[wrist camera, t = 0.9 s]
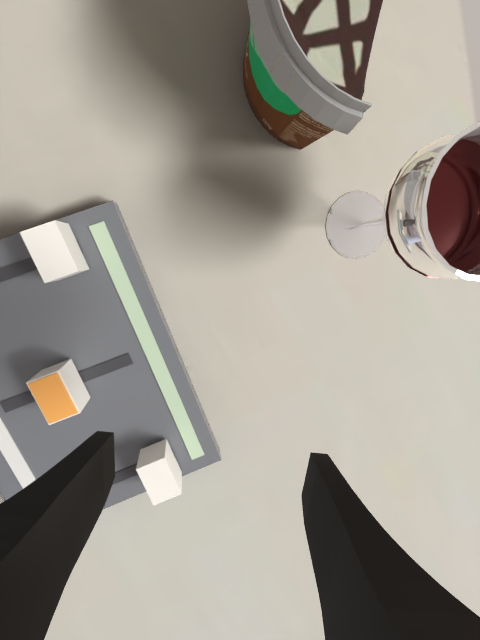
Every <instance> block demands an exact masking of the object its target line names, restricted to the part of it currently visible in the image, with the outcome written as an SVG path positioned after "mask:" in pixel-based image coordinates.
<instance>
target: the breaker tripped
mask: <svg viewBox="0 0 480 640" xmlns="http://www.w3.org/2000/svg"><path fill="white" fill-rule="evenodd" d="M26 384H27V386H28V388H29V389H30V391H31V393H32V395H33V397H34V399H35V401H36V402H37V404H38V406H39V408H40V410H41V412H42V413H43V415H44V417H45V419H46V421H47V423H48V425H51V424H54V423H56V422H59V421H61V420H64V419H67V418H69V417H72V416H74V415H77V414H79V413H81V411H82V410H83V408H84V407H85V405H86V404H87V402H88V401H89V399H90V398H91V397H90V395H89V393H88V391H87V389H86V387H85V385H84V383H83V381H82V379H81V377H80V375H79V373H78V371H77V369H76V367H75V365H74V363H73V361H72V359H69V360H66V361H64V362H61V363H58V364H56V365H53V366H50V367H48V368H45V369H42V370H41V371H40V372H38V373H37V374H36V375H35V376H34V377H32V378H31V379H30V380H29V381H27V382H26Z"/></svg>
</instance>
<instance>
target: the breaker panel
mask: <svg viewBox="0 0 480 640" xmlns="http://www.w3.org/2000/svg"><path fill="white" fill-rule="evenodd" d="M56 221H60V222H64V223H68V224H69V225H70V228H71V230H72V232H73V234H74V236H75V239H76V241H77V243H78V245H79V247H80V250H81V252H82V254H83V256H84V258H85V261H86V263H87V265H88V267H89V270H86V271H84V272H81V273H78V274H75V275H72V276H70V277H67V278H64V279H61V280H58V281H53V282H49V283H44V281H43V279H42V277H41V275H40V273H39V271H38V269H37V267H36V265H35V263H34V261H33V259H32V257H31V255H30V253H29V251H28V249H27V247H26V245H25V243H24V241H23V239H22V236H21V234H20V233H17V234H14V235H11V236H8V237H5V238H2V239H0V492H1V494H2V496H3V497H4V499H5V501H6V500H7V499H9V498H10V497H12V496H13V495H15V494H16V493H18V492H19V491H21V490H22V489H24V488H25V487H26V486H28V485H29V484H30V483H32V482H33V481H35V480H36V479H37V478H39V477H40V476H41V475H43V474H44V473H46V472H47V471H48V470H49V469H51V468H52V467H53V466H54V465H56V464H57V463H58V462H60V461H61V460H62V459H63V458H65V457H66V456H67V455H68V454H70V453H71V452H72V451H73V450H74V449H76V448H77V447H78V446H79V445H80V444H82V443H83V442H84V441H85V440H86V439H88V438H89V437H90V436H91V435H93V434H94V433H95V432H96V431H104V432H114V451H115V478H114V481H113V484H112V487H111V490H110V493H109V495H108V498H107V501H106V503H105V506H104V508H103V509H105V508H107V507H110V506H112V505H114V504H117V503H119V502H122V501H124V500H126V499H129V498H131V497H134V496H136V495H138V494H141V493H143V492H146V489H145V487H144V485H143V483H142V481H141V479H140V477H139V475H138V473H137V471H136V467H137V462H138V458H139V453H140V449H143V448H145V447H148V446H150V445H152V444H155V443H157V442H160V441H162V440H165V439H167V441H168V443H169V445H170V447H171V450H172V452H173V454H174V456H175V458H176V461H177V463H178V465H179V467H180V469H181V472H182V476H184V475H186V474H189V473H191V472H193V471H196V470H198V469H201V468H203V467H205V466H208V465H210V464H213V463H215V462H217V461H220V460H221V456H220V450H219V447H218V445H217V442H216V440H215V438H214V435H213V433H212V430H211V428H210V426H209V423H208V421H207V418H206V416H205V414H204V411H203V409H202V406H201V404H200V402H199V399H198V397H197V394H196V392H195V390H194V387H193V385H192V382H191V380H190V378H189V375H188V373H187V370H186V368H185V366H184V363H183V361H182V358H181V356H180V354H179V351H178V349H177V346H176V344H175V342H174V339H173V337H172V334H171V332H170V330H169V327H168V325H167V322H166V320H165V318H164V315H163V313H162V310H161V308H160V306H159V303H158V301H157V299H156V296H155V294H154V291H153V289H152V287H151V284H150V282H149V279H148V277H147V275H146V272H145V270H144V267H143V265H142V263H141V260H140V258H139V255H138V253H137V251H136V248H135V246H134V243H133V241H132V239H131V236H130V234H129V231H128V229H127V227H126V224H125V222H124V219H123V217H122V215H121V212H120V210H119V207H118V205H117V203H115V202H114V201H110V202H107V203H104V204H101V205H98V206H95V207H92V208H89V209H86V210H83V211H81V212H78V213H75V214H72V215H69V216H66V217H63V218H60V219H57V220H56ZM69 359H72V361H73V363H74V365H75V367H76V369H77V371H78V373H79V375H80V377H81V379H82V381H83V383H84V385H85V387H86V389H87V391H88V393H89V395H90V397H91V398H90V399H89V401H88V402H87V404H86V405H85V407H84V408H83V410H82V411H81V413H79V414H77V415H74V416H72V417H69V418H67V419H64V420H61V421H59V422H56V423H54V424H51V425H48V423H47V421H46V419H45V417H44V415H43V413H42V412H41V410H40V408H39V406H38V404H37V402H36V401H35V399H34V397H33V395H32V393H31V391H30V389H29V388H28V386H27V384H26V382H27V381H29V380H30V379H31V378H32V377H34V376H35V375H36V374H37V373H38V372H40V371H41V370H42V369H45V368H48V367H50V366H53V365H56V364H58V363H61V362H64V361H66V360H69Z"/></svg>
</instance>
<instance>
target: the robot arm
mask: <svg viewBox="0 0 480 640" xmlns="http://www.w3.org/2000/svg"><path fill="white" fill-rule="evenodd" d="M114 478H115V451H114V432H104V431H96V432H95V433H94V434H93V435H91V436H90V437H89V438H88V439H86V440H85V441H84V442H83V443H82V444H80V445H79V446H78V447H77V448H76V449H74V450H73V451H72V452H71V453H70V454H68V455H67V456H66V457H65V458H63V459H62V460H61V461H60V462H58V463H57V464H56V465H54V466H53V467H52V468H51V469H49V470H48V471H47V472H46V473H44V474H43V475H41V476H40V477H39V478H37V479H36V480H35V481H33V482H32V483H30V484H29V485H28V486H26V487H25V488H24V489H22V490H21V491H19V492H18V493H16V494H15V495H13V496H12V497H10V498H9V499H7V500H6V501H4V502H3V503H1V504H0V640H44V638H45V635H46V633H47V630H48V628H49V625H50V622H51V620H52V617H53V615H54V612H55V610H56V607H57V605H58V602H59V600H60V597H61V595H62V592H63V590H64V587H65V585H66V583H67V581H68V578H69V576H70V574H71V572H72V570H73V568H74V566H75V564H76V562H77V560H78V558H79V556H80V554H81V552H82V550H83V548H84V546H85V544H86V542H87V540H88V538H89V536H90V534H91V532H92V530H93V528H94V526H95V524H96V522H97V520H98V518H99V516H100V514H101V512H102V510H103V508H104V506H105V503H106V501H107V498H108V495H109V493H110V490H111V487H112V484H113V481H114ZM302 506H303V516H304V525H305V530H306V535H307V540H308V545H309V550H310V554H311V559H312V564H313V569H314V573H315V578H316V583H317V587H318V592H319V598H320V603H321V609H322V617H323V625H324V633H325V640H480V617H479V616H477V615H476V614H475V613H474V612H472V611H471V610H470V609H469V608H467V607H466V606H465V605H464V604H463V603H461V602H460V601H459V600H458V599H456V598H455V597H454V596H453V595H452V594H450V593H449V592H448V591H447V590H446V589H445V588H443V587H442V586H441V585H440V584H439V583H438V582H437V581H435V580H434V579H433V578H432V577H431V576H430V575H429V574H428V573H427V572H426V571H425V570H424V569H422V568H421V567H420V566H419V565H418V564H417V563H416V562H415V561H414V560H413V559H412V558H411V557H410V556H409V555H408V554H407V553H406V552H405V551H404V550H403V549H402V548H401V547H400V546H399V545H398V544H397V543H396V542H395V541H394V540H393V539H392V537H391V536H390V535H389V534H388V533H387V532H386V531H385V530H384V529H383V527H382V526H381V525H380V524H379V523H378V521H377V520H376V519H375V518H374V517H373V516H372V514H371V513H370V512H369V511H368V509H367V508H366V507H365V505H364V504H363V503H362V502H361V500H360V499H359V498H358V496H357V495H356V494H355V492H354V491H353V490H352V488H351V487H350V485H349V484H348V483H347V481H346V480H345V478H344V477H343V476H342V474H341V473H340V471H339V470H338V468H337V467H336V465H335V464H334V463H333V461H332V460H331V458H330V457H329V456H328V454H320V453H311V454H310V459H309V463H308V468H307V473H306V477H305V482H304V486H303V491H302Z"/></svg>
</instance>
